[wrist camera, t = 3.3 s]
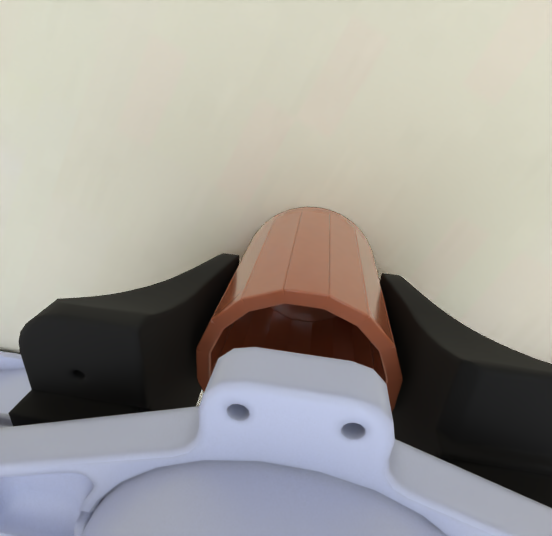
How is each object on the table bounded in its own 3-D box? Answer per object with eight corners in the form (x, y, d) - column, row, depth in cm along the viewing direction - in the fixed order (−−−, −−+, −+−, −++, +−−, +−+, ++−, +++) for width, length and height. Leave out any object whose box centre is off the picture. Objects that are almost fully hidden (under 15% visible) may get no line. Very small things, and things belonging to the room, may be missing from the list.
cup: (244, 312, 17) (198, 433, 11) (249, 199, 14) (193, 277, 8) (361, 328, 16) (378, 464, 10) (385, 214, 14) (425, 307, 8)
